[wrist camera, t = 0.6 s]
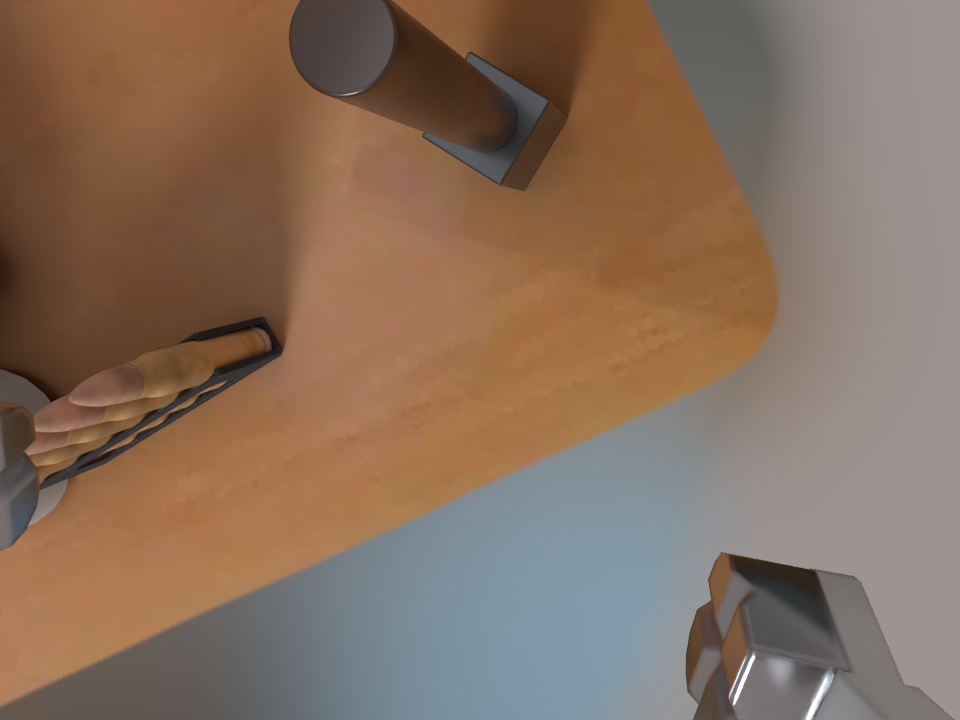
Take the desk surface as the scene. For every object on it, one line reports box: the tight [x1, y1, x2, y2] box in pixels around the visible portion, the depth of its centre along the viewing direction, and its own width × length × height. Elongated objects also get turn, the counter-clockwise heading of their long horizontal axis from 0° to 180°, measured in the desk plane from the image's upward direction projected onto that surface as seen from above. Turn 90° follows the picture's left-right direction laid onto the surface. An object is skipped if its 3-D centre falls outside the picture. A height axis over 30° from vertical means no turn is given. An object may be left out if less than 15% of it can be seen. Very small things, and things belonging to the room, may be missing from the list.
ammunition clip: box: [25, 317, 282, 490], centre depth 33 cm, size 11×2×12 cm, turn 121°
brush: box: [289, 0, 567, 191], centre depth 25 cm, size 3×3×18 cm
